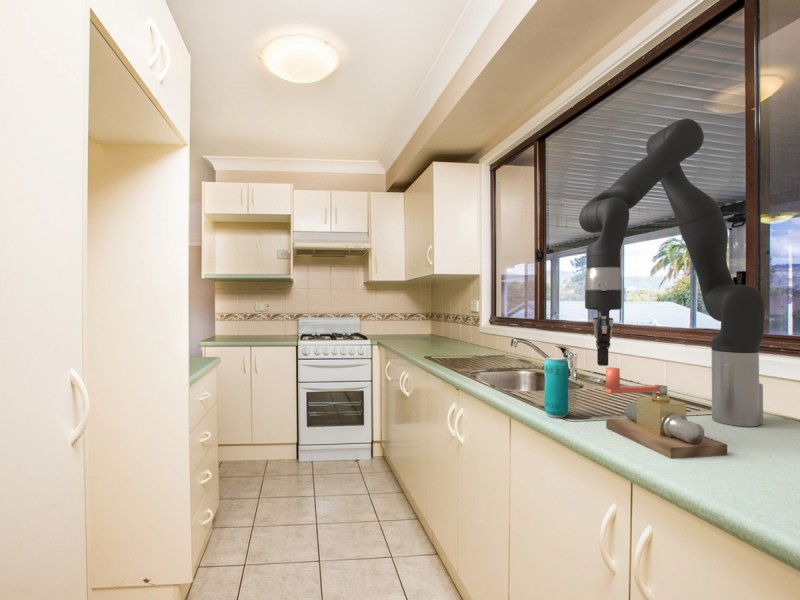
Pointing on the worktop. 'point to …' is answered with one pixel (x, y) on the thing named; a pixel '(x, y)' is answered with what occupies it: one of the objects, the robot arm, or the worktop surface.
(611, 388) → the valve lever
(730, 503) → the worktop surface
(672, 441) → the valve board
